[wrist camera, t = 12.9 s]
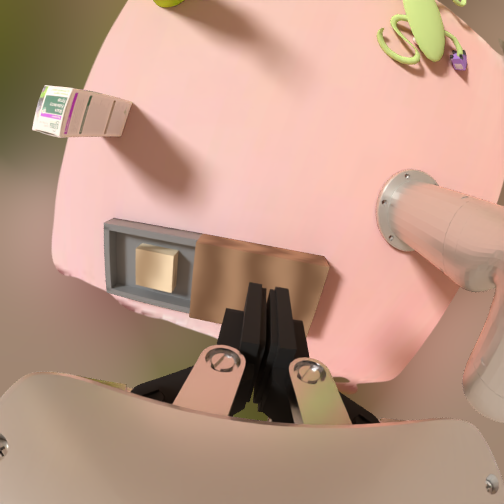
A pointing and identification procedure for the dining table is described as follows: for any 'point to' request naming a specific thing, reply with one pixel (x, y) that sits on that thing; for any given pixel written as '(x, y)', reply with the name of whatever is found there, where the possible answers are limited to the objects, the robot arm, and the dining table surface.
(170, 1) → the soap dispenser
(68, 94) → the syrup box
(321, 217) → the dining table surface
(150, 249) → the tile
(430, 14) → the figurine
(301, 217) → the dining table surface
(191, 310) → the board
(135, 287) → the box
